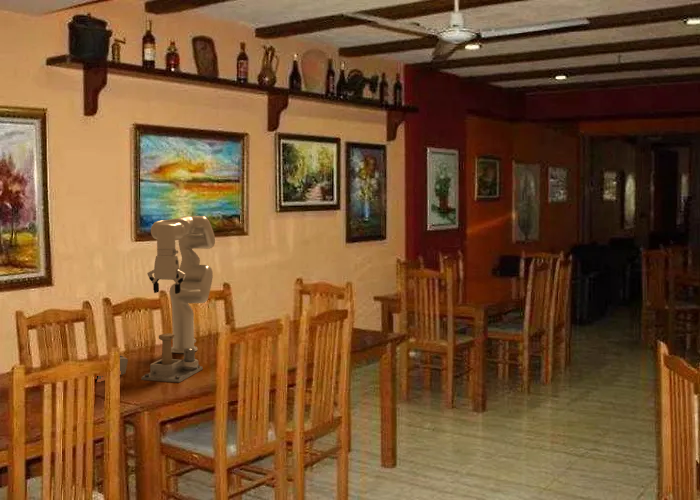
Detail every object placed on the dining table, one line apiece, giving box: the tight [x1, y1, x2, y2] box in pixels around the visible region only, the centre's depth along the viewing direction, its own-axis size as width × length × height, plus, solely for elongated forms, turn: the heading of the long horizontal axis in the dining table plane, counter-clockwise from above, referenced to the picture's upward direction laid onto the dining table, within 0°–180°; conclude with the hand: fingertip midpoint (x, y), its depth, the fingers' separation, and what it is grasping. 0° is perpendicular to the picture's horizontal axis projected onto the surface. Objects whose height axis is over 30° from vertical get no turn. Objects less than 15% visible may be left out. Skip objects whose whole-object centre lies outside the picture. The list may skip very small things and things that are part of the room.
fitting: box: [141, 348, 203, 383], centre depth 317 cm, size 22×16×9 cm
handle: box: [158, 332, 174, 365], centre depth 316 cm, size 5×6×15 cm
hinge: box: [97, 354, 129, 380], centre depth 312 cm, size 17×5×10 cm, turn 159°
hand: (166, 292), depth 335 cm, fingers open, 9 cm apart
